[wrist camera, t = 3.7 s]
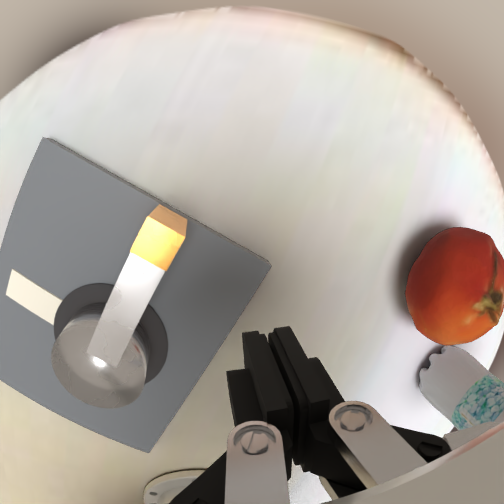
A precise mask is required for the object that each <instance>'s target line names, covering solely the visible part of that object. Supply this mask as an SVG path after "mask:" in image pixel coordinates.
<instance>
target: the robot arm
mask: <svg viewBox="0 0 504 504" xmlns="http://www.w3.org/2000/svg"><path fill="white" fill-rule="evenodd" d="M242 338H243V351H244V364H245V369H240V370H232V371H226V373H227V381H228V389H229V396H230V403H231V408H232V414H233V419H234V425H235V428H234V429H233V430H232V431H231V432H230V434H229V436H228V440H227V451H226V452H225V453H224V454H223V455H222V456H221V457H220V458H219V459H217V460H216V461H215V462H214V463H213V464H212V465H211V466H210V467H209V468H208V469H206V470H189V471H180V472H174V473H170V474H166V475H163V476H161V477H158V478H156V479H154V480H153V481H151V482H150V483H149V484H148V485H147V486H146V487H145V490H144V498H143V499H144V503H145V504H290V500H289V492H288V483H287V481H288V480H289V479H290V478H291V467H292V458H293V461H294V464H295V465H301V467H302V470H303V472H308V471H310V472H311V473H313V474H316V475H318V476H319V479H320V482H321V484H322V485H323V487H324V488H325V490H326V491H327V493H328V494H329V496H330V497H331V499H332V501H329V502H325V503H321V504H504V422H502V423H500V424H499V423H498V422H493V421H491V422H485V423H482V424H479V425H476V426H473V427H469V428H466V429H462V430H459V431H455V432H452V433H448V434H445V435H444V437H443V438H441V437H438V436H435V435H431V434H427V433H422V432H417V431H413V430H409V429H404V428H400V427H396V426H392V425H389V424H388V423H387V422H386V420H385V419H384V418H383V417H382V416H381V415H380V414H379V413H378V412H377V411H376V410H375V409H374V408H373V407H371V406H370V405H368V404H366V403H363V402H359V401H347V402H345V401H344V399H343V398H342V396H341V394H340V393H339V391H338V389H337V388H336V386H335V385H334V383H333V381H332V380H331V378H330V376H329V375H328V373H327V371H326V370H325V368H324V367H323V365H322V363H321V362H320V360H319V359H318V358H317V357H314V358H309V359H308V358H307V356H306V354H305V353H304V351H303V349H302V347H301V345H300V344H299V342H298V340H297V338H296V336H295V335H294V333H293V331H292V329H291V328H290V326H287V327H281V328H274V330H273V333H269V335H268V341H267V338H266V336H265V334H259V332H258V331H252V332H244V333H242ZM268 342H269V343H268Z"/></svg>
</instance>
